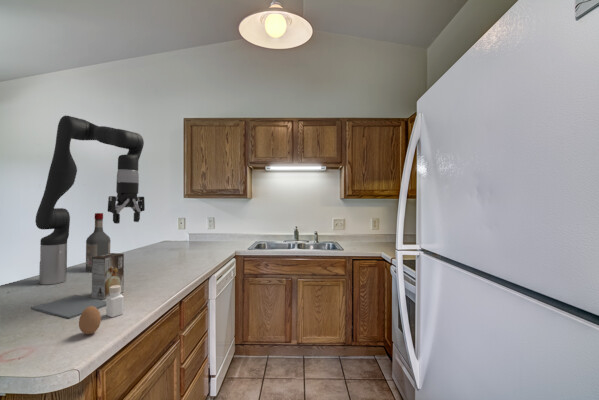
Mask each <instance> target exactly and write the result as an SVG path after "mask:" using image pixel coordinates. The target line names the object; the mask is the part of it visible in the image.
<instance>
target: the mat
mask: <svg viewBox="0 0 599 400" xmlns="http://www.w3.org/2000/svg"><path fill="white" fill-rule="evenodd" d="M89 306H93V307H96V308H97V309H98V310H99V309H102V308H105V307H106V300H103V299H95V298H92V297H87V296H83V295H82V296H81V295H77V294H73V295H70V296H66V297H63V298H59V299H55V300H52V301H48V302H45V303H41V304H38V305H35V306H31V307H30V308H31V310H34V311H38V312H43V313H46V314H49V315H54V316H57V317H59V318H63V319H69V320H70V319H73V318H76V317H80V316H81V314H82V312H83V311H84V310H85V309H86V308H87V307H89Z"/></svg>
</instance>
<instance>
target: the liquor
mask: <svg viewBox="0 0 599 400" xmlns="http://www.w3.org/2000/svg"><path fill="white" fill-rule="evenodd" d="M103 219H104V212H96V213H94V229H93V232H92V233H91V234H89V236H88V237H87V238H86V241H85V271H86V272H88V273H92V257H96V256H100V255H105V254H109V253H111V237H110V236H109V235H108V234H106V232H105V231H104V226H103V223H104V220H103Z"/></svg>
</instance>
